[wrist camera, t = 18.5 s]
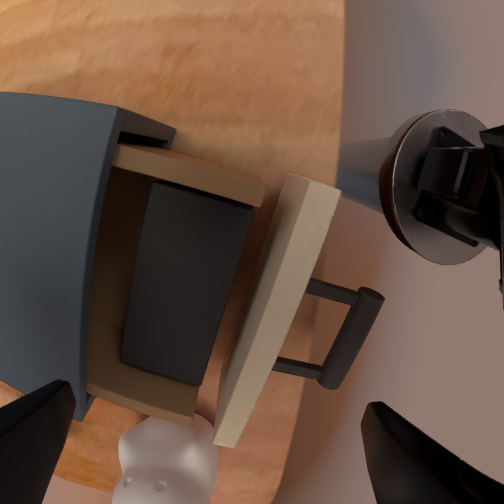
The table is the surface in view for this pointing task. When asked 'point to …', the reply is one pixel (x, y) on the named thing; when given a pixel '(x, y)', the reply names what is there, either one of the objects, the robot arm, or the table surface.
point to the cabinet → (54, 229)
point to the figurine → (167, 463)
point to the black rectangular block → (182, 279)
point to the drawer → (255, 305)
